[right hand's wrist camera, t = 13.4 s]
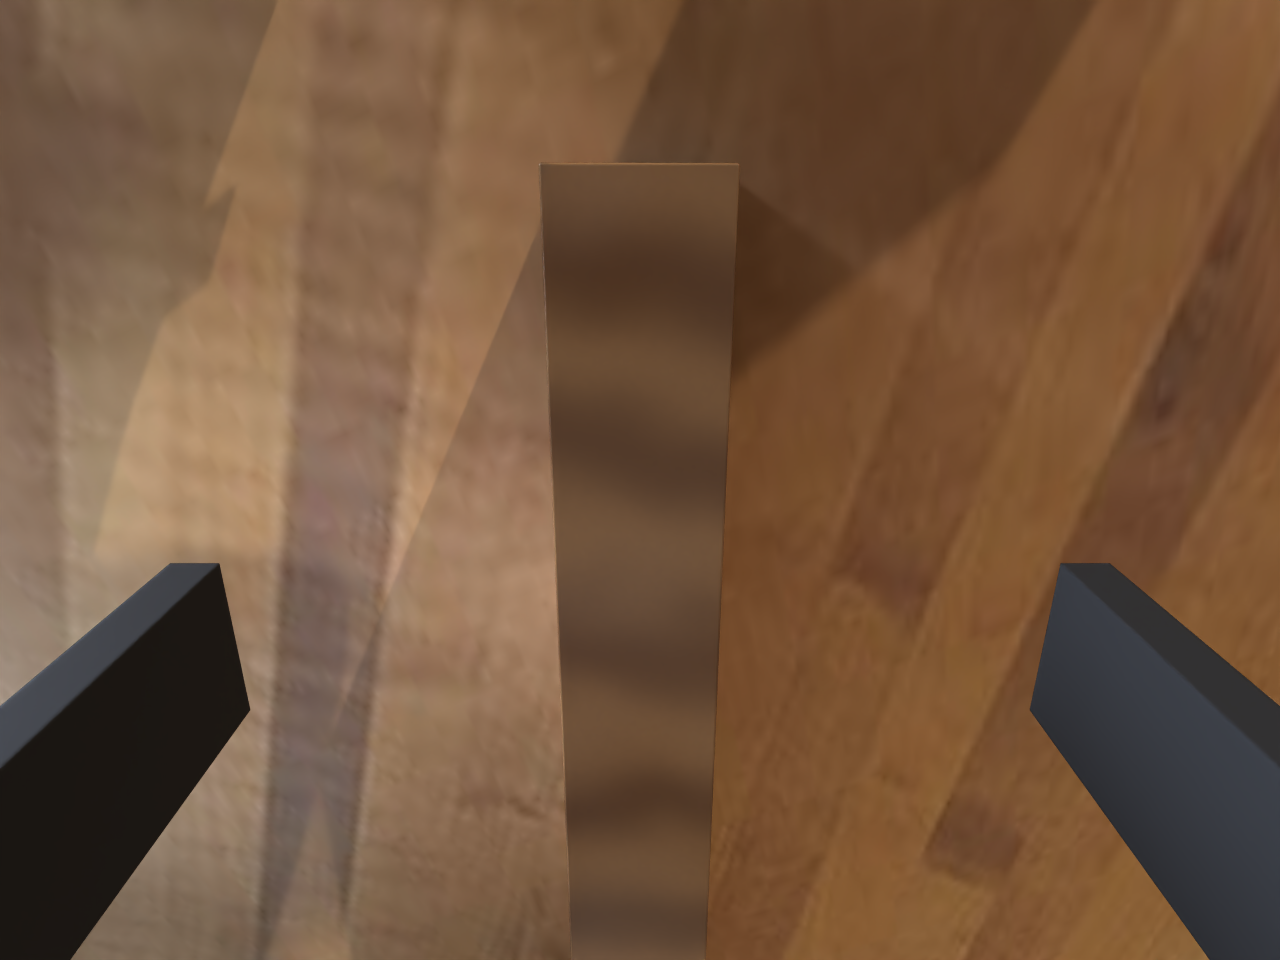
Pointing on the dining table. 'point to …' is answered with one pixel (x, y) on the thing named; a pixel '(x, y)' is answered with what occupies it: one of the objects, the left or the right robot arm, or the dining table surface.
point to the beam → (638, 535)
